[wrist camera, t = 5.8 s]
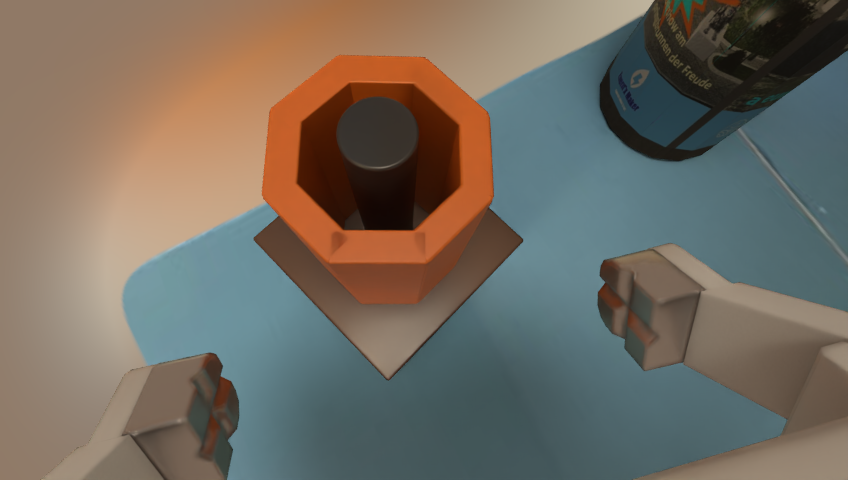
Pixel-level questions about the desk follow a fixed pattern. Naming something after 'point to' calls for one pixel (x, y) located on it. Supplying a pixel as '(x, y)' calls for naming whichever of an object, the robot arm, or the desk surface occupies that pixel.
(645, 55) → the advertising column
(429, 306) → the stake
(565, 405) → the desk surface
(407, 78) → the collar
